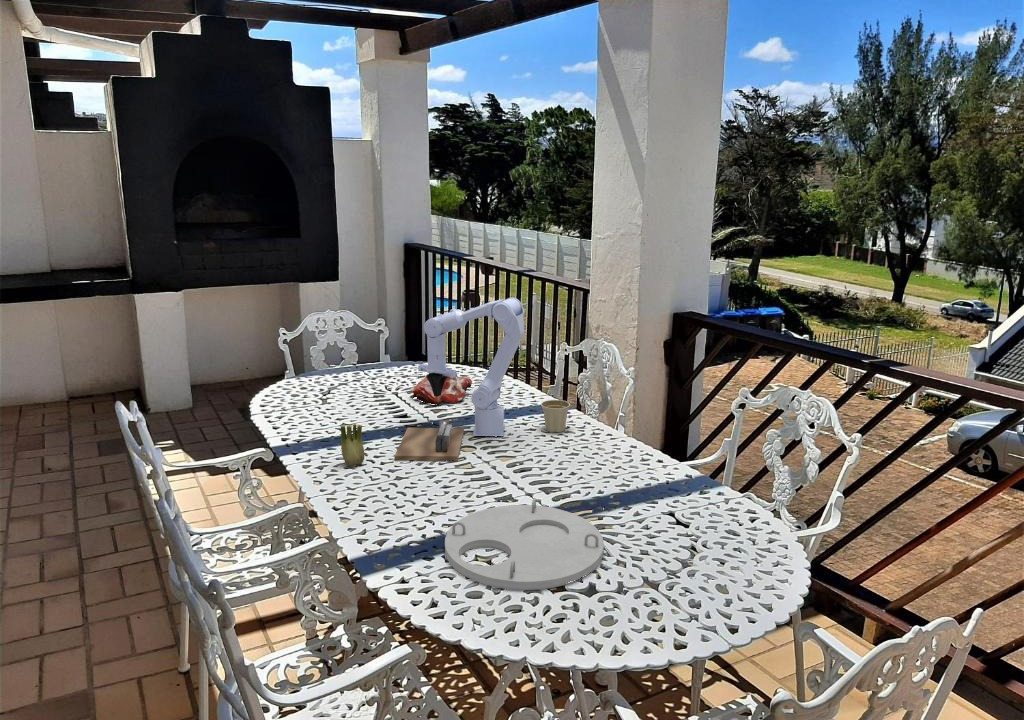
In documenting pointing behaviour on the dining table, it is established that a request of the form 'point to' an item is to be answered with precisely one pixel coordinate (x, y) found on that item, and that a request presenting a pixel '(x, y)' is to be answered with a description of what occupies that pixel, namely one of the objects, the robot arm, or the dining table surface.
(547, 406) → the flower pot
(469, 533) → the slab
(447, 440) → the fixed tong arm
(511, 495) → the dining table surface
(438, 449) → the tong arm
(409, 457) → the walnut board
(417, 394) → the meat
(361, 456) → the fennel bulb
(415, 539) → the dining table surface
